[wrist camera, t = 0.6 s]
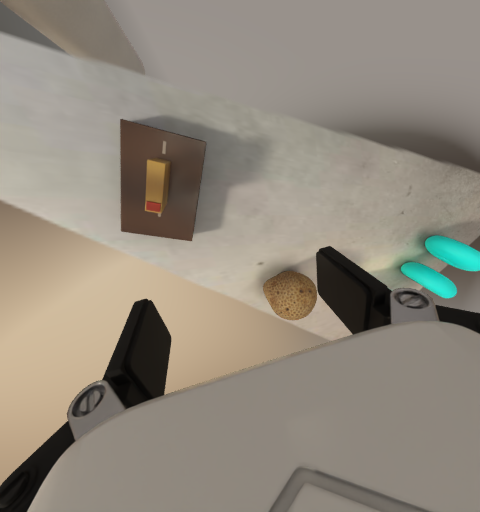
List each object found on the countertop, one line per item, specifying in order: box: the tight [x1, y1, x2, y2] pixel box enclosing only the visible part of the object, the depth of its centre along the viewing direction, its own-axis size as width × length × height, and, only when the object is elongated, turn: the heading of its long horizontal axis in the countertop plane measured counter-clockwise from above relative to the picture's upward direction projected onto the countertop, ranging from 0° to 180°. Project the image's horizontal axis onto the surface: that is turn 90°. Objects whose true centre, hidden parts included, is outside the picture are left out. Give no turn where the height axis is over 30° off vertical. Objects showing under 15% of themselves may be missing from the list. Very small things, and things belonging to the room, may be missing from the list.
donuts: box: [401, 235, 480, 298], centre depth 43 cm, size 10×10×10 cm
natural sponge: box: [263, 271, 317, 320], centre depth 38 cm, size 9×9×10 cm
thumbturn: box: [145, 158, 171, 213], centre depth 25 cm, size 6×2×6 cm, turn 167°
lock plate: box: [120, 119, 206, 241], centre depth 29 cm, size 14×10×3 cm
